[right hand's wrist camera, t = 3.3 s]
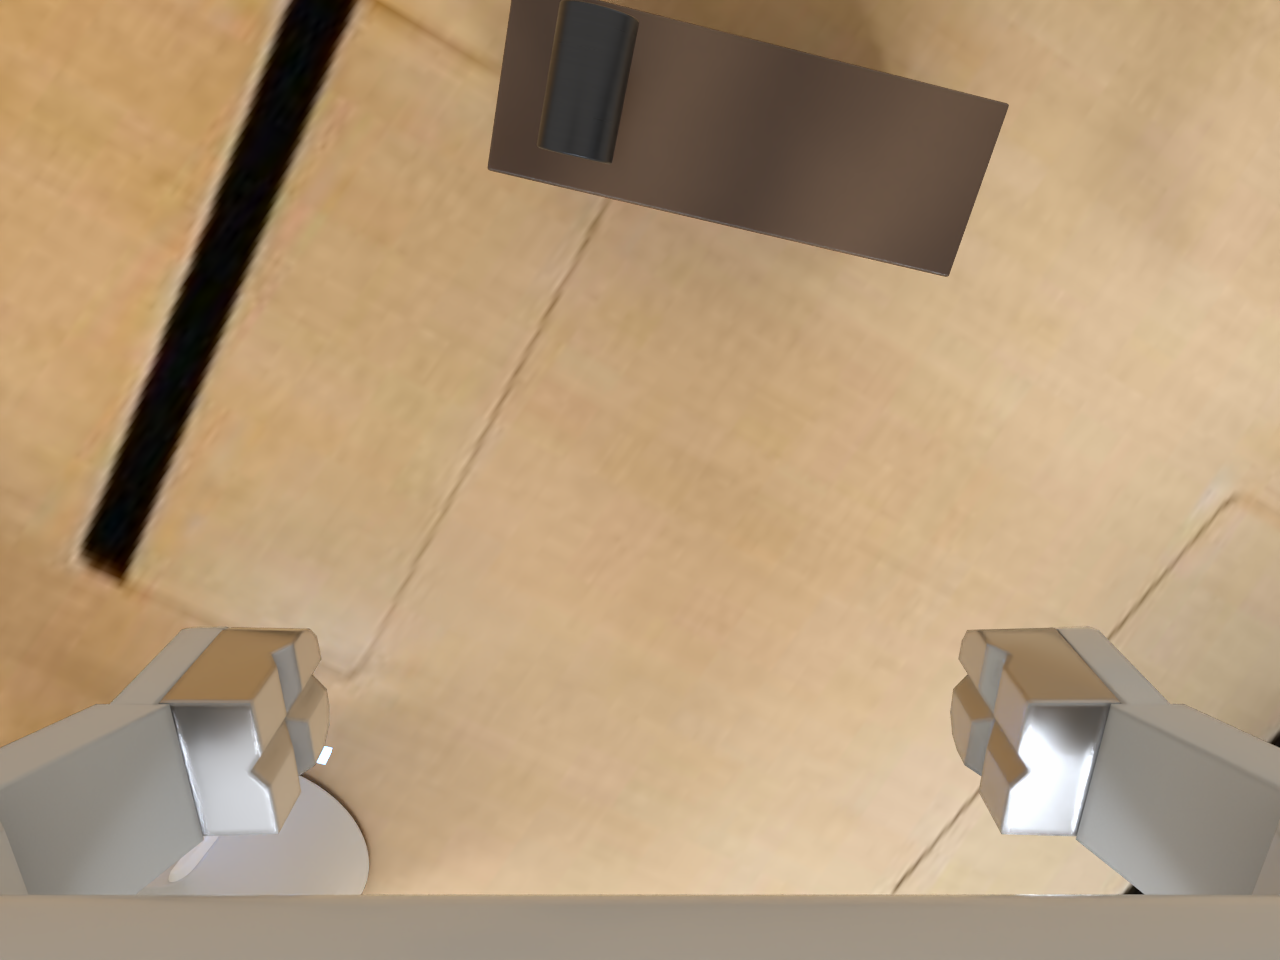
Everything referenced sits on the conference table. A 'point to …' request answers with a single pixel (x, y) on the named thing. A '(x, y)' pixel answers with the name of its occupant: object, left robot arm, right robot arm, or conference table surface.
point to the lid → (740, 132)
